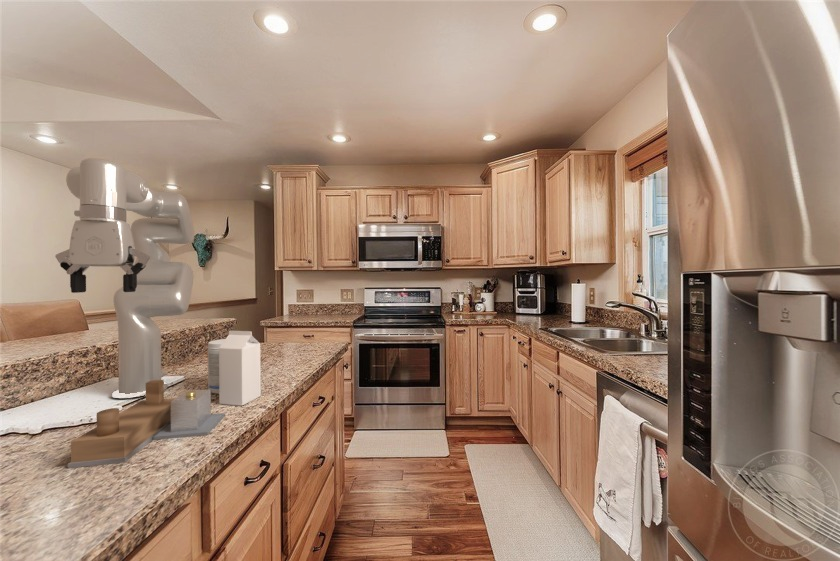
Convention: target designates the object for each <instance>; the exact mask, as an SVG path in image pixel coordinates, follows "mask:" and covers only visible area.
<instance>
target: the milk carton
mask: <svg viewBox="0 0 840 561" xmlns="http://www.w3.org/2000/svg"><path fill="white" fill-rule="evenodd" d="M224 339H225V340H224V342H223V343H222V344H221V346H220V347H219V394H218V395H219V396H218V397H219V398H218V399H219V404H220V405H228V406H229V405H231V406H244V405H246V404H249V403H251V402H252V401H254V400H256V399H258V398H260V397H261V396H262V394H261V393H262V392H261V391H262V390H261V388H262V386H261V383H262V381H261V380H262V378H261V375H262V374H261V343H260V342H259V341H258V340H257V339H256V338H255V337H254V336H253V333H252V331H249V330H228V335H227V337H226V338H224Z"/></svg>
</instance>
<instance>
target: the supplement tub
mask: <svg viewBox="0 0 840 561" xmlns="http://www.w3.org/2000/svg"><path fill="white" fill-rule="evenodd" d="M225 339H226V338H221V339H216V340H211V341H208V344H207V345H208V347H207V380H208V382H207V385H208V389H211V394H216V395H219V347H220V346H221V344H222V343H223V342H224V340H225Z"/></svg>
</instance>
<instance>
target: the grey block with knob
mask: <svg viewBox="0 0 840 561" xmlns="http://www.w3.org/2000/svg"><path fill="white" fill-rule="evenodd" d="M211 394H212V393H211V389H196V390H195V389H192V390H186V391H184V392H183V393H181V394H179V396H177V397H175V398H176V399H174V400H173V401H171V432H181V431H191V430H198V429H199V428H200V427H201V426H202V425H203V424H204V423H205V422H206V421H207V420H208V419H209V418H210V417H211V414H212V413H211V412H212V409H211V408H212V407H211V406H212V405H211V404H212V402H211V401H212V400H211V398H212V397H211V396H212V395H211Z"/></svg>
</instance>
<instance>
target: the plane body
mask: <svg viewBox="0 0 840 561" xmlns="http://www.w3.org/2000/svg"><path fill="white" fill-rule="evenodd" d="M164 382H165V380H164V379H161V380H151V381H149V382H147V383H146V396H145V399H142V400H140V401H138V402H137V403H135V404H133V405H131V406H130V407H128V408H127V409H125V410H123V411H121V412H120V409H119V408H117V407H113V408H106V409H104V410H100V411H98V412H96V427H94V428H92V429H91V430H89V431H87V432H86V433H83V434H82V435H80V436H78V437H77V438H75V439H73V440H71V442H70V462H68V463H67V469H76V468H83V467H93V466H103V465H112V464H121V463H126V462H127V461H129V460H130V459H132V457H133V456H135V455H136V454H137V453H138V452H140V451H141V450H142V449H143V448H145V447H146V446H147V445H148V444H149V443H151V442H152V441H153V437H154V436H155V435H157V434H158V433H159V432H160V431H162V430H163V429H164V428H165V427H166V426H168V425H169V424H170V423H171V401H173V400H174V399H176V398H177V397H173V398H172V397H171V398H169V397H168V398H164V397H165V396H164V395H165V394H164V393H165V390H164Z"/></svg>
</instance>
